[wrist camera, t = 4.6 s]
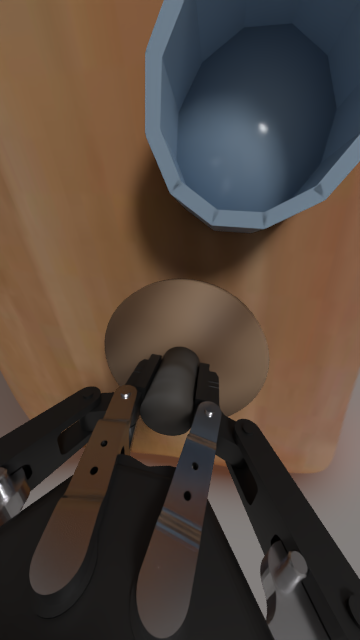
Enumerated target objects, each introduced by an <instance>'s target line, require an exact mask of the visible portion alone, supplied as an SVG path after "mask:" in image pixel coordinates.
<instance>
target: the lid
mask: <svg viewBox="0 0 360 640" xmlns="http://www.w3.org/2000/svg"><path fill="white" fill-rule="evenodd" d="M105 353H106V359H107V362H108V366H109V368H110V370H111V373H112V375H113V376H114V378H115V380H116V382H117V383H118V384H119V386H123V385H125V384H126V382H127V381H128V379H129V377H130V376H131V374H132V373H133V372H134V369H135V368H136V366H137V365H138V363H139V362H140V361H142V360H143V359H147V360H149V358H150V356H151V354H157V355H161V356H162V361H161V363H160V365H159V367H158V369H157V372H156V374H155V376H154V378H153V380H152V383H151V385H150V387H149V389H148V391H147V394H146V396H145V398H144V400H143V402H142V405H141V407H140V415H141V418H142V420H143V421H144V423H145V424H146V425H147V426H148V427H149V428H151V429H152V430H154V431H156V432H158V433H160V434H164V435H169V436H176V435H181V434H184V433H186V432H187V431H188V430H189V429H190V428H191V427H192V424H193V418H194V404H195V396H196V388H197V380H198V373H199V365H200V362H201V363H206V364H210V367H209V371H212V372H216V373H217V375H218V377H219V405H220V409H221V411H222V412H223V414H224V415H225V416H227V417H228V416H230V415H232V414H234V413H236V412H238V411H240V410H241V409H243V408H244V407H245V406H247V405H248V404H249V403H250V402H251V401H252V400H253V399H254V398H255V397H256V396H257V394H258V393H259V391H260V390H261V388H262V387H263V384H264V382H265V380H266V377H267V373H268V369H269V349H268V345H267V341H266V338H265V335H264V333H263V331H262V328H261V327H260V325H259V323H258V321H257V320H256V318H255V317H254V315H253V314H252V312H251V311H250V310H249V309H248V308H247V307H246V305H244V304H243V303H242V302H241V301H240V300H239V299H238V298H236V297H235V296H233V295H232V294H230V293H229V292H227V291H226V290H224V289H222V288H220V287H218V286H215V285H212V284H209V283H206V282H203V281H198V280H193V279H168V280H163V281H159V282H155V283H152V284H150V285H147V286H145V287H143V288H141V289H140V290H138V291H136V292H134V293H133V294H132V295H130V296H129V297H128V298H126V299H125V300H124V301H123V302H122V303H121V304H120V305H119V306H118V307H117V309H116V310H115V312H114V313H113V315H112V317H111V319H110V321H109V323H108V326H107V330H106V335H105Z"/></svg>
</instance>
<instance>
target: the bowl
mask: <svg viewBox="0 0 360 640" xmlns="http://www.w3.org/2000/svg"><path fill="white" fill-rule="evenodd" d="M145 134H146V137H147V140H148V142H149V145H150V147H151V149H152V152H153V154H154V156H155V159H156V161H157V164H158V166H159V168H160V171H161V173H162V176H163V178H164V180H165V183H166V185H167V187H168V190H169V192H170V194H171V195H172V196H173V197H174V198H175V199H176V200H177V201H178V202H179V203H180V204H181V205H182V206H183V207H184V208H185V209H186V210H188V211H189V212H190V213H191V214H193V215H194V216H195V217H197V218H198V219H199V220H201V221H202V222H203V223H204V224H206V225H207V226H208V227H210V228H211V229H212V230H214V231H225V232H239V233H253V232H257V231H260V230H263V229H266V228H268V227H270V226H272V225H274V224H276V223H278V222H280V221H282V220H285V219H287V218H289V217H291V216H293V215H295V214H297V213H299V212H301V211H303V210H306V209H308V208H310V207H312V206H314V205H316V204H318V203H320V202H322V201H324V200H326V199H327V197H328V196H329V195H330V194H331V193H332V192H333V191H334V190H335V188H336V187H337V186H338V185H339V184H340V183H341V182H342V181H343V179H344V178H345V177H346V176H347V175H348V174H349V173H350V171H351V170H352V169H353V168H354V167H355V166H356V165H357V164H358V162H359V161H360V0H164V2H163V5H162V7H161V10H160V13H159V16H158V18H157V21H156V24H155V27H154V29H153V32H152V35H151V38H150V40H149V43H148V46H147V49H146V52H145Z"/></svg>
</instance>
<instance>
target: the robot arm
mask: <svg viewBox="0 0 360 640" xmlns="http://www.w3.org/2000/svg"><path fill="white" fill-rule="evenodd" d="M161 361H162V356H161V355H157V354H151V356H150V358H149V360H147V359H143V360H142V361H140V362H139V363H138V365H137V366H136V368H135V369H134V372H133V373H132V374H131V376H130V377H129V379H128V381H127V382H126V384H125V385H123V386H120V387H119V388H117V389H116V390H115V392H112V393H101V392H100V390H99V388H97V387H86V388H83V389H81V390H80V391H78V392H76V393H75V394H73V395H71V396H70V397H68V398H66V399H65V400H63V401H61V402H60V403H58V404H56V405H55V406H53V407H51V408H50V409H48V410H46V411H45V412H43V413H41V414H40V415H38V416H36V417H35V418H33V419H31V420H30V421H28V422H26V423H25V424H23V425H21V426H20V427H18V428H16V429H15V430H13V431H12V432H10V433H8V434H6V435H5V436H3V437H1V438H0V640H360V579H359V578H358V576H357V575H356V573H355V572H354V570H353V569H352V567H351V566H350V564H349V563H348V561H347V560H346V558H345V557H344V555H343V554H342V552H341V551H340V549H339V548H338V546H337V545H336V543H335V542H334V540H333V539H332V537H331V536H330V534H329V533H328V531H327V530H326V528H325V527H324V525H323V524H322V522H321V521H320V519H319V518H318V516H317V515H316V513H315V512H314V510H313V509H312V507H311V506H310V504H309V503H308V501H307V500H306V498H305V497H304V495H303V494H302V492H301V491H300V489H299V488H298V486H297V485H296V483H295V482H294V480H293V478H292V477H291V476H290V474H289V472H288V471H287V469H286V468H285V466H284V465H283V463H282V462H281V460H280V459H279V457H278V456H277V454H276V453H275V451H274V450H273V448H272V447H271V445H270V444H269V442H268V441H267V439H266V438H265V436H264V435H263V433H262V432H261V430H260V429H259V428H258V426H257V425H256V424H255V423H253V422H252V421H250V420H247V419H239V420H238V421H234V420H232V419H230V418H228V417H227V416H225V415H224V414H223V412H222V411H221V409H220V405H219V377H218V375H217V373H216V372H212V371H209V367H210V364H206V363H201V362H200V365H199V373H198V380H197V388H196V396H195V404H194V418H193V424H192V427H191V430H190V433H189V434H188V435H187V438H186V441H185V444H184V447H183V450H182V453H181V455H180V458H179V461H178V464H177V467H172V466H152V467H149V466H146V465H144V464H142V463H141V462H139V461H137V460H136V459H134V458H133V457H131V456H130V453H131V448H132V444H133V440H134V435H135V431H136V427H137V420H138V418H139V416H140V407H141V405H142V402H143V400H144V398H145V396H146V394H147V391H148V389H149V387H150V385H151V383H152V380H153V378H154V376H155V374H156V372H157V369H158V367H159V365H160V363H161ZM76 421H77V422H76ZM75 422H76V423H75ZM73 423H74V424H73ZM72 424H73V425H72ZM71 425H72V426H71ZM69 426H70V427H69ZM68 427H69V428H68ZM65 429H66V430H65ZM64 430H65V431H64ZM62 431H63V432H62ZM61 432H62V433H61ZM87 443H88V444H87ZM85 444H87V446H86V448H85V450H84V452H83V455H82V457H81V459H80V461H79V464H78V466H77V468H76V470H75V472H74V475H72V476H71V477H69V478H68V479H66V480H65V481H64V482H62V483H61V484H60V485H58V486H57V487H55V488H54V489H52V490H51V491H49V492H48V493H47V494H45V495H44V496H42V497H41V498H40V499H38V500H37V501H35V502H34V503H32V504H31V505H30V506H28V507H27V508H25V509H24V510H22V508H23V505H24V504H25V502H26V500H27V499H28V497H29V494H30V491H31V490H33V489H34V488H35V487H36V486H37V485H38V484H40V483H41V482H42V481H43V480H44V479H45V478H47V477H48V476H49V475H50V474H51V473H52V472H54V471H55V470H56V469H57V468H58V467H60V466H61V465H62V464H63V463H64V462H65V461H67V460H68V459H69V458H70V457H71V456H72V455H74V454H75V453H76V452H77V451H78V450H79V449H81V448H82V447H83V446H84V445H85ZM215 455H217V456H219V457H220V458H222V459H224V460H225V462H226V465H227V467H228V469H229V472H230V474H231V477H232V479H233V481H234V484H235V486H236V488H237V491H238V493H239V495H240V498H241V500H242V503H243V505H244V507H245V510H246V512H247V515H248V517H249V519H250V522H251V524H252V526H253V529H254V531H255V534H256V536H257V538H258V541H259V543H260V545H261V548H262V550H263V552H264V555H265V556H264V558H263V559H262V562H261V567H260V575H261V581H262V585H263V589H264V592H265V596H266V601H267V617H266V620H265V618H264V616H263V614H262V612H261V610H260V608H259V606H258V604H257V602H256V599H255V598H254V595H253V593H252V591H251V589H250V587H249V585H248V583H247V580H246V578H245V576H244V574H243V572H242V570H241V568H240V566H239V564H238V561H237V559H236V557H235V555H234V553H233V551H232V549H231V547H230V545H229V543H228V540H227V539H226V536H225V534H224V532H223V530H222V528H221V526H220V524H219V522H218V520H217V517H216V515H215V513H214V511H213V509H212V507H211V505H210V503H209V501H208V499H207V497H208V492H209V486H210V480H211V475H212V469H213V464H214V458H215ZM21 510H22V511H21ZM20 511H21V512H20ZM19 512H20V513H19ZM12 517H13V518H12Z"/></svg>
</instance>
